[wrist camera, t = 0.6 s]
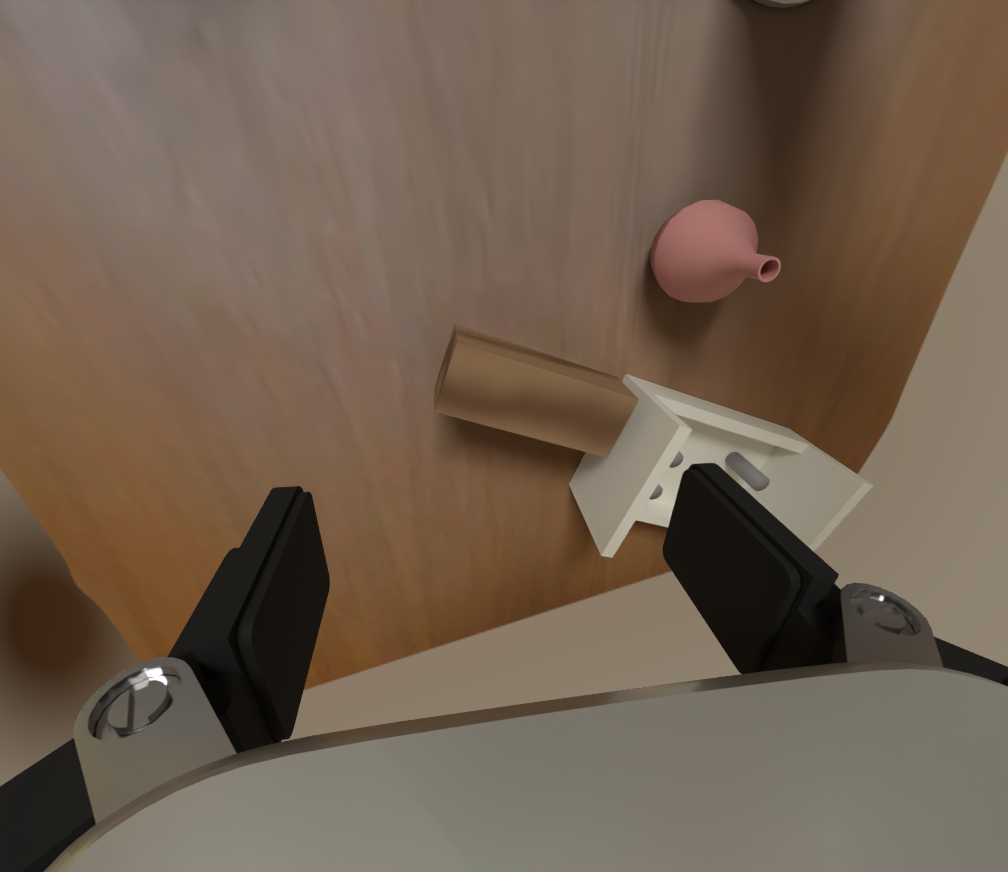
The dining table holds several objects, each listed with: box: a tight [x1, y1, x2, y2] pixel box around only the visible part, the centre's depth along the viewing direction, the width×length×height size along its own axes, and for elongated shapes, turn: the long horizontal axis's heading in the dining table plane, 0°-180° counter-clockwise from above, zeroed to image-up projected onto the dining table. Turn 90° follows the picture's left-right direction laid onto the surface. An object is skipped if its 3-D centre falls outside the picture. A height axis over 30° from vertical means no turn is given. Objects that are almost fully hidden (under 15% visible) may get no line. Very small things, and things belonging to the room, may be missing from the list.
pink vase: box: [650, 200, 781, 303], centre depth 33 cm, size 8×8×12 cm
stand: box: [569, 374, 873, 558], centre depth 45 cm, size 14×22×11 cm, turn 70°
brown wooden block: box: [434, 324, 639, 458], centre depth 38 cm, size 6×16×5 cm, turn 70°
